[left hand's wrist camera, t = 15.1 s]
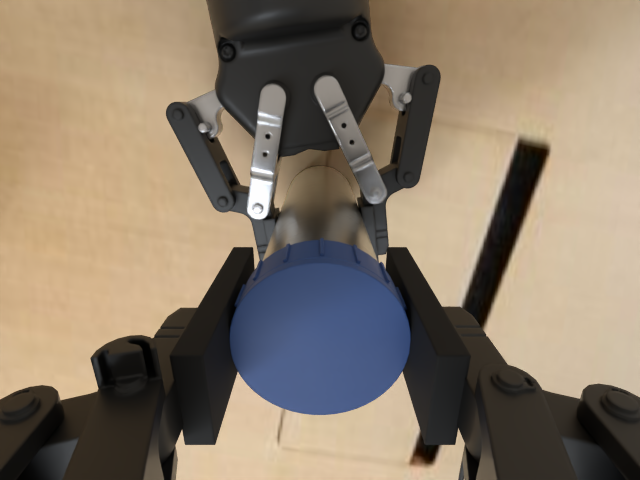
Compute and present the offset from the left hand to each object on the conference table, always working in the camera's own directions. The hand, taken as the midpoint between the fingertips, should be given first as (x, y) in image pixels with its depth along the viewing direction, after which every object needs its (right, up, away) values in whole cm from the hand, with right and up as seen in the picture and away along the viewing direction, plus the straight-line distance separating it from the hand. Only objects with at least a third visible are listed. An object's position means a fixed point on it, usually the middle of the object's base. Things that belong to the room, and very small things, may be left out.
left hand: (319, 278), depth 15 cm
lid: (0, -1, -4) cm, 4 cm away
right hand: (0, 0, +8) cm, 8 cm away
